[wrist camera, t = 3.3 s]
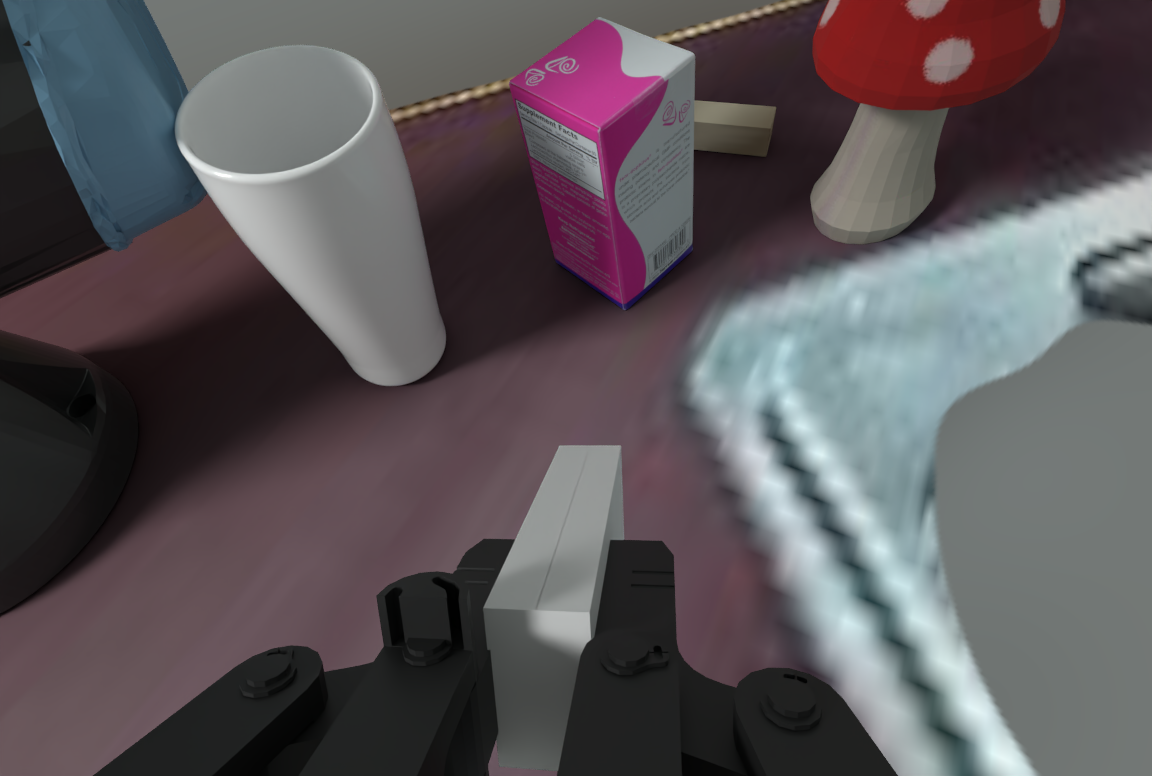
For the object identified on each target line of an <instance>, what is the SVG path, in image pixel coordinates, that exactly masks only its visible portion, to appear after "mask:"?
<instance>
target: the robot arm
mask: <svg viewBox="0 0 1152 776" xmlns="http://www.w3.org/2000/svg"><path fill="white" fill-rule="evenodd" d="M188 93H189V92H188V90H187V88H186V85H185V83H184V81H183V79H182V76H181V74H180V72H179V70H178V68H177V66H176V64H175V62H174V60H173V58H172V56H171V54H170V52H169V50H168V48H167V45H166V43H165V41H164V39H163V37H162V36H161V33H160V31H159V29H158V27H157V25H156V24H155V22H154V20H153V18H152V16H151V14H150V12H149V10H148V8H147V6H146V5H145V2H144V0H0V298H2V297H4V296H7V295H9V294H11V293H14V292H16V291H18V290H20V289H23V288H25V287H27V286H29V285H32V284H34V283H36V282H38V281H41V280H43V279H45V278H47V277H50V276H52V275H54V274H56V273H59V272H61V271H63V270H65V269H68V268H70V267H72V266H75V265H77V264H79V263H81V262H84V261H86V260H88V259H90V258H93V257H95V256H97V255H99V254H102V253H104V252H106V251H108V250H111V249H113V250H115V251H118V252H119V251H121V250H124V249H127V248H128V246H129V245H130V244H131V243H132V240H133V238H135V237H137V236H139V235H141V234H143V233H145V232H147V231H148V230H150V229H152V228H154V227H156V226H158V225H160V224H162V223H164V222H166V221H168V220H170V219H172V218H174V217H176V216H178V215H180V214H182V213H184V212H186V211H188V210H190V209H192V208H194V207H195V206H196V205H198V204H199V203H200V202H201V201H202V200H203V199H204V197H205V196H206V194H207V192H206V190H205V188H204V187H203V185H202V184H201V182H200V181H199V179H198V178H197V176H196V175H195V173H194V171H193V170H192V168H191V167H190V165H189V163H188V162H187V160H186V159H185V157H184V156H183V155H182V153H181V151H180V149H179V147H178V145H177V142H176V138H175V120H176V116H177V112H178V110H179V107H180V105H181V103H182V102H183V100H184V98H185V97H186V95H187V94H188ZM137 442H138V417H137V412H136V407H135V404H134V401H133V399H132V397H131V395H130V393H129V392H128V390H127V389H126V387H125V386H124V385H123V384H122V383H121V382H120V381H119V380H118V379H117V378H115V377H114V376H113V375H111V374H110V373H108V372H107V371H105V370H104V369H102V368H101V367H99V366H98V365H96V364H94V363H93V362H91V361H90V360H88V359H87V358H85V357H83V356H82V355H80V354H77V353H75V352H73V351H71V350H68V349H66V348H62V347H59V346H56V345H52V344H48V343H45V342H41V341H38V340H34V339H31V338H27V337H23V336H20V335H16V334H13V333H9V332H6V331H2V330H0V613H2V612H4V611H6V610H8V609H9V608H11V607H13V606H14V605H16V604H18V603H19V602H21V601H22V600H24V599H25V598H27V597H28V596H30V595H31V594H32V593H34V592H35V591H37V590H38V589H39V588H40V587H42V586H43V585H44V584H46V583H47V582H48V581H49V580H50V579H52V578H53V577H54V576H55V575H56V574H58V573H59V572H60V571H61V570H62V569H63V568H64V567H65V566H66V565H67V564H68V563H69V562H70V561H71V560H72V559H73V558H74V557H75V556H76V555H77V554H78V553H79V552H80V551H81V550H82V548H83V547H84V546H85V545H86V544H87V543H88V542H89V540H90V539H91V538H92V537H93V535H94V534H95V533H96V532H97V530H98V529H99V528H100V526H101V525H102V523H103V522H104V521H105V519H106V518H107V516H108V515H109V513H110V512H111V510H112V508H113V506H114V505H115V503H116V501H117V500H118V498H119V496H120V494H121V492H122V490H123V488H124V485H125V483H126V481H127V479H128V476H129V473H130V471H131V468H132V465H133V461H134V458H135V453H136V448H137ZM377 603H378V610H379V616H380V623H381V630H382V636H383V643H384V647H383V649H382V650H381V652H380V653H379V655H378V656H377V658H376V659H375V661H374V662H372V663H368V664H364V665H360V666H355V667H349V668H344V669H338V670H333V671H327V672H324V669H323V664H322V661H321V658H320V656H319V654H318V652H316V651H314V650H312V649H310V648H308V647H303V646H286V647H280V648H274V649H270V650H268V651H265V652H263V653H260V654H258V655H255V656H253V657H251V658H249V659H248V660H246V661H244V662H243V663H241V664H239V665H238V666H236V667H235V668H233V669H232V670H231V671H229V672H228V673H227V674H226V675H224V676H223V677H222V678H220V679H219V680H218V681H216V682H215V683H214V684H212V685H211V686H210V687H208V688H207V689H206V690H205V691H203V692H202V693H201V694H199V695H198V696H197V697H195V698H194V699H193V700H191V701H190V702H189V703H188V704H186V705H185V706H184V707H182V708H181V709H180V710H178V711H177V712H176V713H174V714H173V715H172V716H170V717H169V718H168V719H167V720H165V721H164V722H163V723H161V724H160V725H159V726H157V727H156V728H155V729H153V730H152V731H151V732H150V733H148V734H147V735H146V736H144V737H143V738H142V739H140V740H139V741H138V742H136V743H135V744H134V745H132V746H131V747H130V748H129V749H127V750H126V751H125V752H123V753H122V754H121V755H119V756H118V757H117V758H115V759H114V760H113V761H112V762H110V763H109V764H108V765H106V766H105V767H104V768H102V769H101V770H100V771H98V772H97V773H96V774H95V775H93V776H489V771H488V763H489V760H490V757H491V754H492V750H493V747H494V744H495V741H496V740H497V750H498V760H499V767H511V768H524V769H537V770H549V771H558V773H557V776H898V775H897V774H896V772H895V771H894V770H893V768H892V767H891V765H890V764H889V763H888V761H887V760H886V758H885V757H884V756H883V754H882V753H881V751H880V750H879V749H878V747H877V746H876V744H875V743H874V742H873V740H872V739H871V737H870V736H869V734H868V733H867V732H866V730H865V729H864V727H863V726H862V725H861V723H860V722H859V720H858V719H857V718H856V716H855V715H854V713H853V712H852V711H851V709H850V708H849V706H848V705H847V704H846V702H845V701H844V699H843V698H842V697H841V696H840V695H839V694H838V693H837V692H836V691H835V690H834V689H833V688H832V687H831V686H830V685H828V684H826V683H825V682H823V681H821V680H819V679H818V678H816V677H814V676H812V675H810V674H807V673H804V672H800V671H797V670H793V669H789V668H766V669H762V670H759V671H755V672H752V673H750V674H749V675H747V676H746V677H745V678H744V679H743V680H741V681H740V682H739V683H738V686H737V688H735V687H732V686H729V685H725V684H722V683H719V682H717V681H714V680H712V679H709V678H706V677H705V676H703V675H701V674H700V673H698V672H697V671H695V670H693V669H692V668H691V667H690V666H689V665H688V664H687V663H686V662H685V661H684V659H683V658H682V656H681V654H680V653H679V651H678V646H677V640H676V612H675V583H674V555H673V554H672V553H671V552H670V550H669V549H668V548H667V547H666V545H665V544H664V543H663V542H662V541H642V540H624V520H623V490H622V460H621V446H559V448H558V450H557V452H556V454H555V456H554V458H553V461H552V463H551V465H550V467H549V469H548V471H547V473H546V476H545V478H544V480H543V482H542V484H541V486H540V488H539V490H538V493H537V495H536V497H535V499H534V501H533V503H532V505H531V507H530V510H529V512H528V514H527V516H526V518H525V520H524V522H523V524H522V527H521V529H520V531H519V533H518V535H517V537H516V539H515V540H512V539H483V540H482V541H481V542H479V543H478V544H476V545H475V546H474V547H472V548H471V549H470V550H468V551H467V552H466V553H465V555H464V556H463V558H462V560H461V561H460V563H459V565H458V566H457V571H454V573H453V574H450V573H444V572H426V573H418V574H415V575H411V576H408V577H404V578H402V579H400V580H398V581H396V582H394V583H392V584H390V585H388V586H387V587H386V588H385V589H383V590H382V591H381V592H380V593H379V594H378V595H377Z"/></svg>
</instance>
